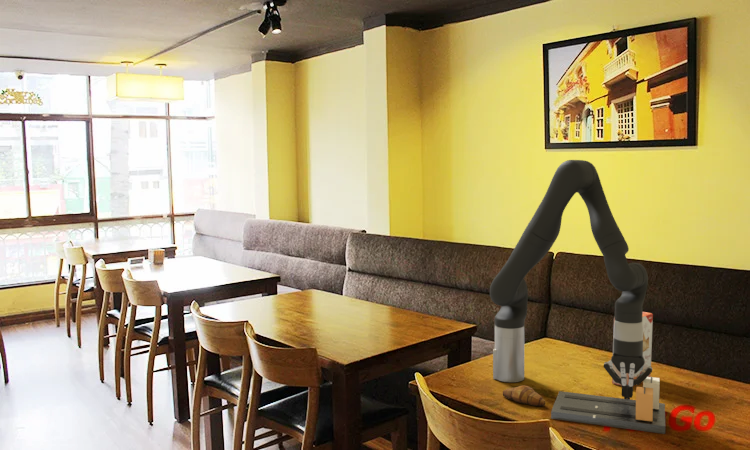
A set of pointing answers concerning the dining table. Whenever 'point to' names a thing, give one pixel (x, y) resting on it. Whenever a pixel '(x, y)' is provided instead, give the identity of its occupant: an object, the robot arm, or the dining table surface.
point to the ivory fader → (653, 383)
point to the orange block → (644, 404)
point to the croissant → (524, 395)
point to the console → (605, 412)
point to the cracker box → (647, 345)
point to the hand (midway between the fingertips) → (627, 398)
